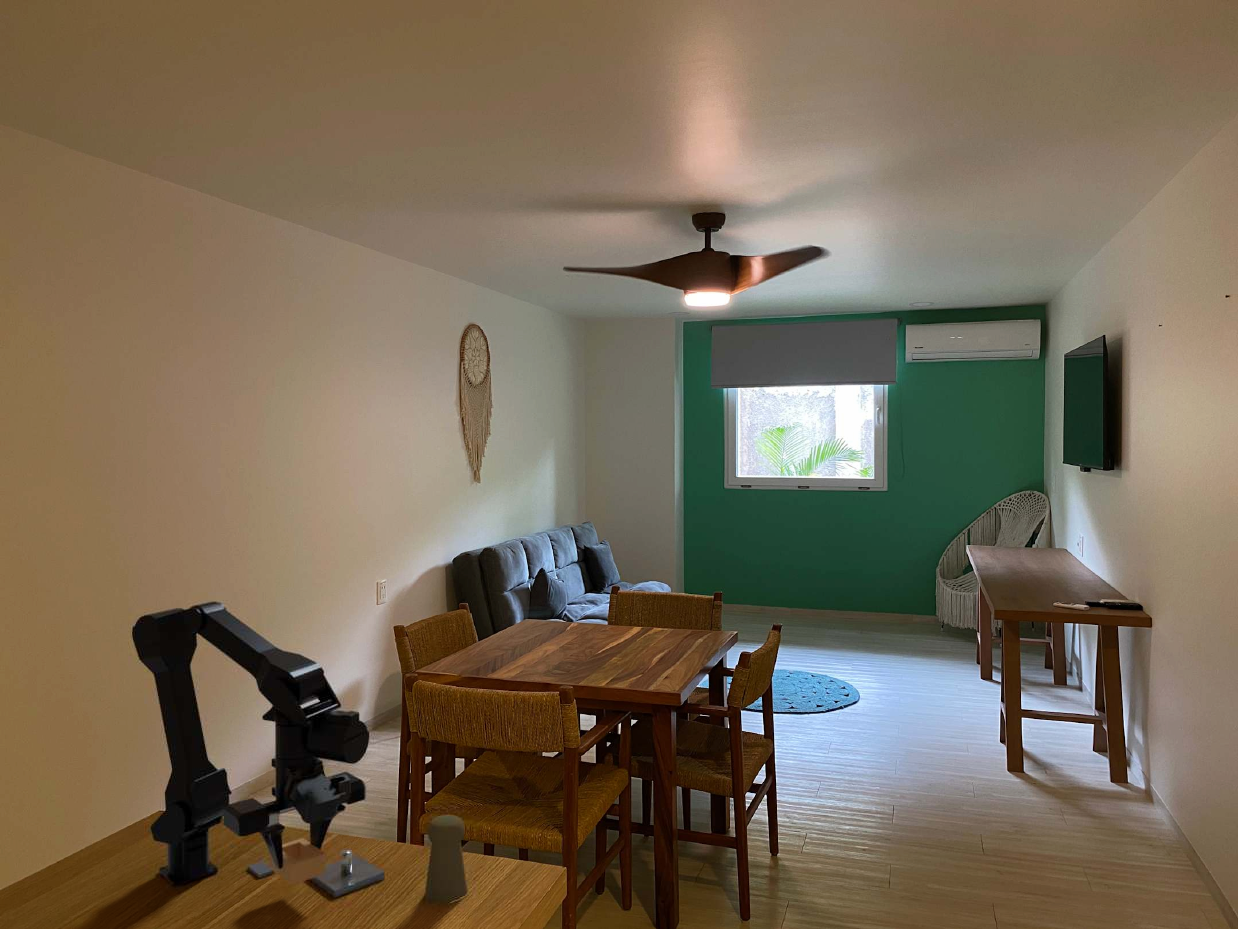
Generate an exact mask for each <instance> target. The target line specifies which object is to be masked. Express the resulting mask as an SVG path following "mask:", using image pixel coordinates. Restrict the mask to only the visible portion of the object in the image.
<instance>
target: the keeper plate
mask: <svg viewBox="0 0 1238 929" xmlns="http://www.w3.org/2000/svg"><path fill="white" fill-rule="evenodd" d="M385 875H386V874H385V871H384V870H382V869H380V868H379V867H377V866H376V865H374V864H372V862H370V861H368V860H366V859H365V858H364V857H362V856H360V855H358V854H354V855H353V850H352V849H343V850H341V851H340V860H337V861H334V862H332V863H329V864H326V873H325V874H322V875H319V876H316V877H314V878H311V879H309V881H312V882H313V883H314V884H316V885H317V886H318V887H320V888H321V889H322V890H324V891H325V892H326V893H328V894H329V895H330V896H332V897H334V898H338V897H341V896H343V895H345V894H349V893H351V892H354V891H356V890H359V889H362V888H364V887H367V886H369V885H372V884H375V883H377V882H380V881H383V880H385V878H386V877H385Z"/></svg>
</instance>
